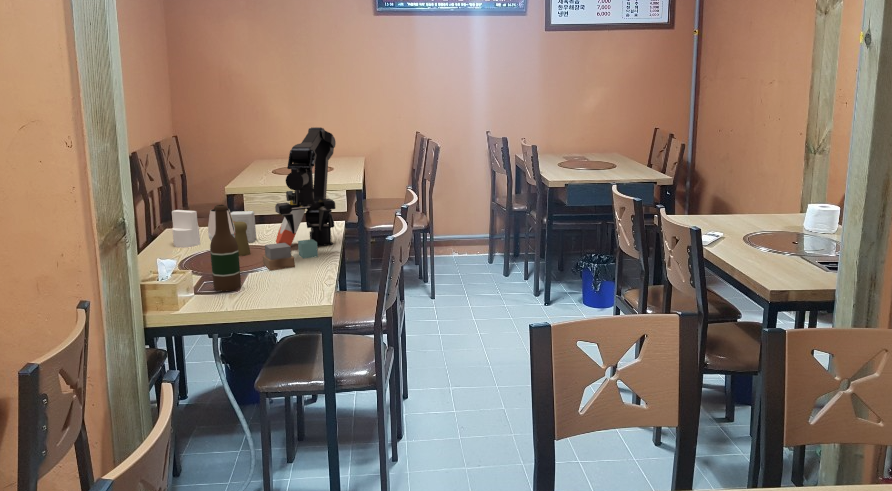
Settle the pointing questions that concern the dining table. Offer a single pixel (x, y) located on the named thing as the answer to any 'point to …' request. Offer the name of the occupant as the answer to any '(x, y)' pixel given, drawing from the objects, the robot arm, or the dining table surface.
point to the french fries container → (285, 231)
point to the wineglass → (213, 225)
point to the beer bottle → (224, 254)
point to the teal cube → (307, 248)
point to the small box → (248, 219)
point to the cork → (241, 238)
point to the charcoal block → (278, 251)
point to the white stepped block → (185, 228)
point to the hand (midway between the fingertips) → (307, 232)
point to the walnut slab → (279, 263)
